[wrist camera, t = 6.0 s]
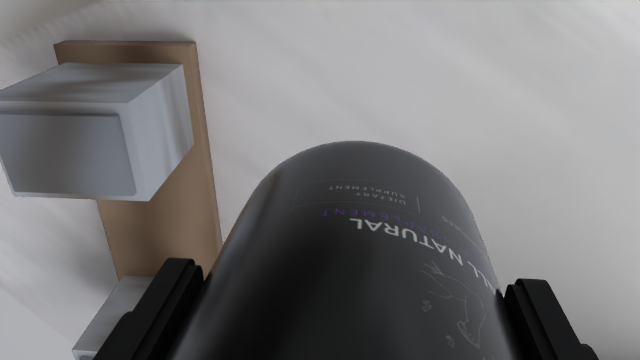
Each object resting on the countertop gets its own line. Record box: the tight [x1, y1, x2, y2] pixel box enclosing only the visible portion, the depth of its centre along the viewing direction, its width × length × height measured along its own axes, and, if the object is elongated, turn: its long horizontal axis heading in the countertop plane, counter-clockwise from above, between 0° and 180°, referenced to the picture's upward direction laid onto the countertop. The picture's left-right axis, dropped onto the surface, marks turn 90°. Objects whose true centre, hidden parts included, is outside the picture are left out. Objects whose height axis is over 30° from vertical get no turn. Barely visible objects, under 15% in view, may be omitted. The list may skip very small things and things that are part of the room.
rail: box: [0, 41, 223, 360], centre depth 28 cm, size 8×23×9 cm, turn 0°
